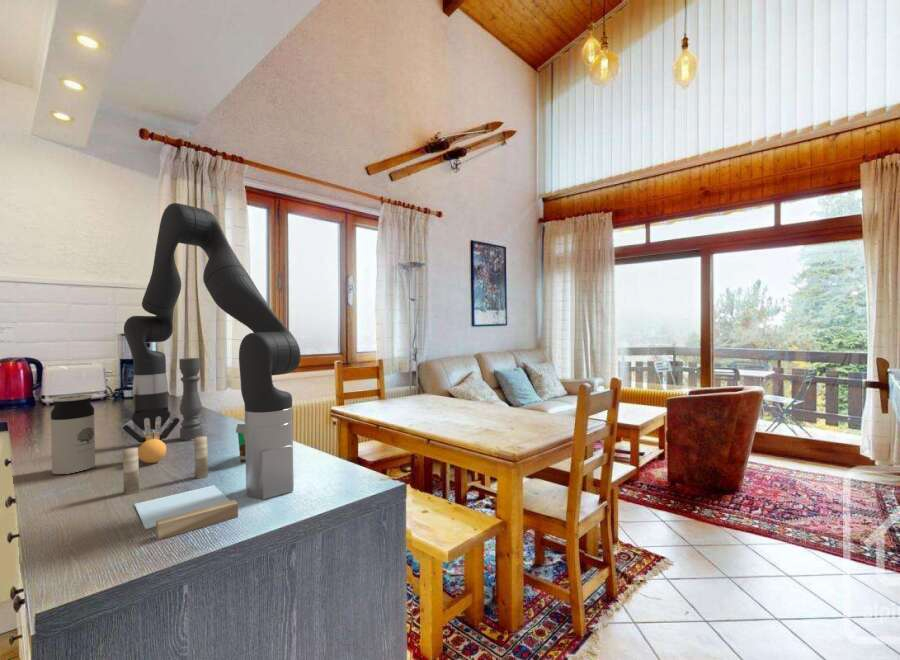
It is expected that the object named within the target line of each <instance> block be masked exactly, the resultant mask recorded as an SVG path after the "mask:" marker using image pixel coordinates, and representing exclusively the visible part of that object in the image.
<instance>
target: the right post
mask: <svg viewBox="0 0 900 660" xmlns="http://www.w3.org/2000/svg"><path fill="white" fill-rule="evenodd" d="M193 441H194V443H193V444H194V446H193V447H194V478H195V479H203V478H206V477H208V476H209V465H208V463H209V459H208V458H209V456H208V454H209V453H208V452H209V451H208V436H206V435H203V436H200V437H196V438H194V440H193Z"/></svg>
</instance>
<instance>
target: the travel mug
mask: <svg viewBox="0 0 900 660" xmlns="http://www.w3.org/2000/svg"><path fill="white" fill-rule="evenodd" d="M92 398H93V395H92V394H73V395H64V396H57V397H53V398H51V401H52V402H53V405H54V407H53V409H52V410H51V411H50V433H51V435H50V436H51V438H50V439H51V440H50V441H51V473H52V474H54V475H57V474H66V475H68V474H67V473H74V472H78V473H80V472H79V471H83V470H86V471H88V470H87V469H89V470H90V468H91V469H92V468H94V467H95V466H96V447H95V446H96V440H95V439H96V438H95V437H96V436H95V435H96V434H95V408H94V406H93V405H92V403H91V401H92ZM83 472H84V471H83ZM74 474H75V473H74Z"/></svg>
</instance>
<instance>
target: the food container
mask: <svg viewBox="0 0 900 660" xmlns="http://www.w3.org/2000/svg"><path fill="white" fill-rule="evenodd" d="M235 428H236V429H235V433H237V438H238V440H237V441H238V450H239V461H240V463H246V453H245V423H237V425H236V427H235Z"/></svg>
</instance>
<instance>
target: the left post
mask: <svg viewBox="0 0 900 660" xmlns="http://www.w3.org/2000/svg"><path fill="white" fill-rule="evenodd" d="M138 450H139V447H137V446H136V447H135V446H134V447H128V448H125V449H123V450H122V470H123V471H122V477H123V494H124V495H131V494H135V493H137V492H139V491H140V475H139V473H140V470H139V467H140V465H139V456H138Z"/></svg>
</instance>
